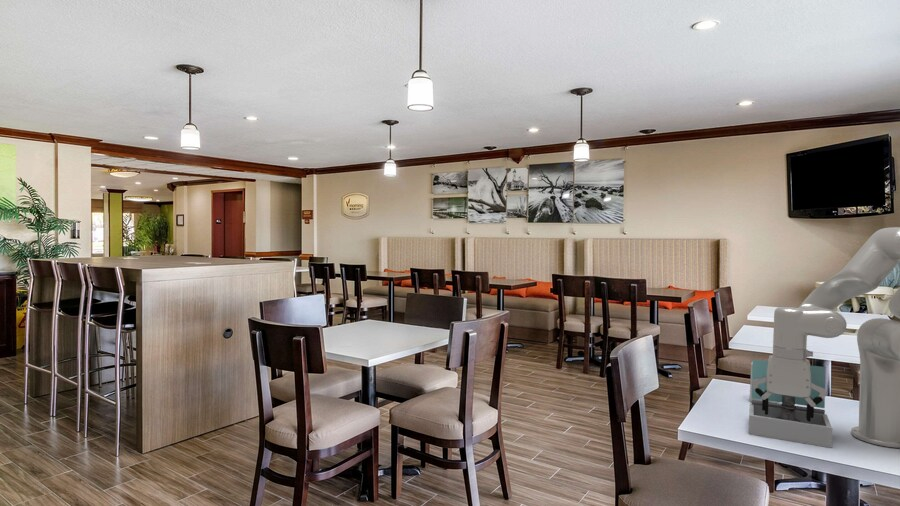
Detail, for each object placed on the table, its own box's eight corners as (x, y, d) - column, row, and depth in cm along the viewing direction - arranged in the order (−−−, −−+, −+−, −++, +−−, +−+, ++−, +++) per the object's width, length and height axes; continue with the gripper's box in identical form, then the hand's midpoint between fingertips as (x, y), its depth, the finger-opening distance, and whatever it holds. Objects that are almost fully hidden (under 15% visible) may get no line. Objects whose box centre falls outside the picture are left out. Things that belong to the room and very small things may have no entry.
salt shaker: (796, 439, 135) (797, 393, 135) (771, 432, 140) (772, 388, 140) (803, 434, 139) (805, 389, 139) (779, 427, 144) (780, 384, 143)
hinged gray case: (826, 432, 140) (826, 414, 140) (831, 448, 130) (832, 428, 130) (749, 420, 149) (749, 403, 149) (748, 433, 139) (749, 415, 139)
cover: (824, 414, 139) (824, 414, 140) (824, 366, 141) (824, 367, 142) (751, 403, 148) (751, 403, 149) (752, 359, 150) (752, 359, 151)
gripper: (827, 355, 138) (824, 418, 138) (752, 347, 147) (750, 407, 147) (830, 360, 131) (828, 427, 132) (751, 351, 140) (749, 414, 141)
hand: (786, 416), depth 139 cm, fingers open, 9 cm apart
